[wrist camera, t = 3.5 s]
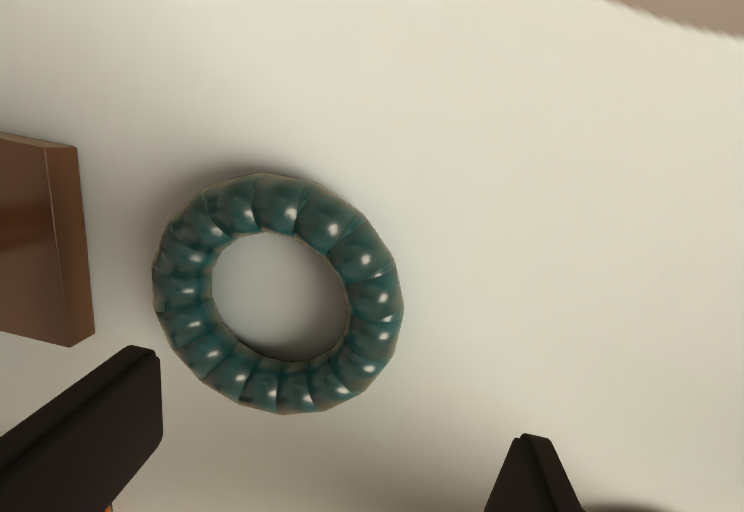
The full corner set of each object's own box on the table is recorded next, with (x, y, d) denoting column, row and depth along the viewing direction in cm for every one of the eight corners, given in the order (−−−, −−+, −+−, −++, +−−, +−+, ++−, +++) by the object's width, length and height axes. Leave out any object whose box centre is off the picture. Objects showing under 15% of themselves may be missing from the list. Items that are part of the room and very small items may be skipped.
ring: (427, 200, 14) (429, 210, 12) (379, 412, 18) (373, 450, 16) (174, 151, 15) (132, 151, 13) (177, 363, 19) (144, 392, 17)
